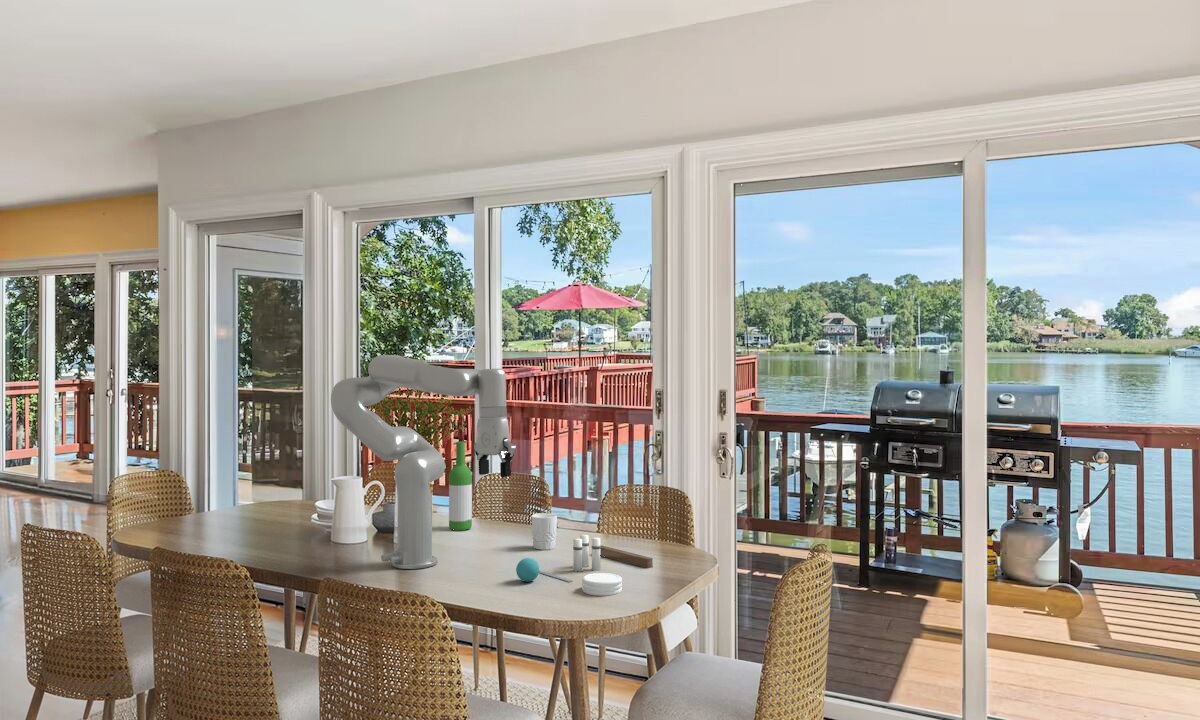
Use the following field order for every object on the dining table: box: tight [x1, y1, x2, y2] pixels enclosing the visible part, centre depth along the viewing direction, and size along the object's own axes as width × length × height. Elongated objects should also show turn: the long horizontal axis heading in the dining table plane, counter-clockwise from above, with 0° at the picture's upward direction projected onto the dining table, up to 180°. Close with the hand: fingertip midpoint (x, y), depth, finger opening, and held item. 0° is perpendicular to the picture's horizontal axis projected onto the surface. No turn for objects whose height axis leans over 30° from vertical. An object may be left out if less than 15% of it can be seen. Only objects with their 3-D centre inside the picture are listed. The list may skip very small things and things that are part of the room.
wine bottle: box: [448, 441, 473, 531], centre depth 279 cm, size 8×8×30 cm
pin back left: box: [579, 534, 590, 568], centre depth 227 cm, size 2×2×8 cm
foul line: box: [539, 569, 574, 583], centre depth 216 cm, size 1×16×1 cm, turn 41°
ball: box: [515, 557, 540, 583], centre depth 211 cm, size 6×6×6 cm
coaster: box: [581, 572, 623, 597], centre depth 203 cm, size 10×10×4 cm
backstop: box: [600, 544, 654, 569], centre depth 234 cm, size 2×22×2 cm, turn 42°
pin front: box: [572, 537, 583, 572], centre depth 222 cm, size 2×2×8 cm
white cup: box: [531, 512, 558, 550], centre depth 250 cm, size 8×8×10 cm
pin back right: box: [591, 537, 601, 571], centre depth 223 cm, size 2×2×8 cm
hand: (494, 475), depth 223 cm, fingers open, 9 cm apart
